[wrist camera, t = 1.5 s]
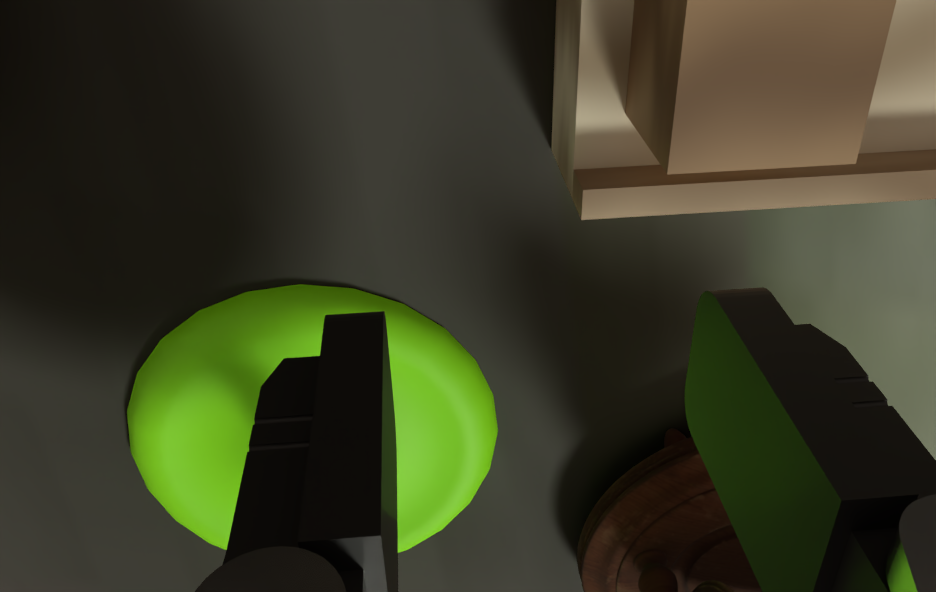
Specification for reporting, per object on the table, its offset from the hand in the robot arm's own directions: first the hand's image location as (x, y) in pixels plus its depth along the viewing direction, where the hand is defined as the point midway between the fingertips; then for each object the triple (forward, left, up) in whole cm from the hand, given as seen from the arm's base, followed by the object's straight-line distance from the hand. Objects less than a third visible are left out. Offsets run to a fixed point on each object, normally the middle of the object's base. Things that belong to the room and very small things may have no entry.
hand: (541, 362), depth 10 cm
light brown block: (0, +7, -15) cm, 17 cm away
